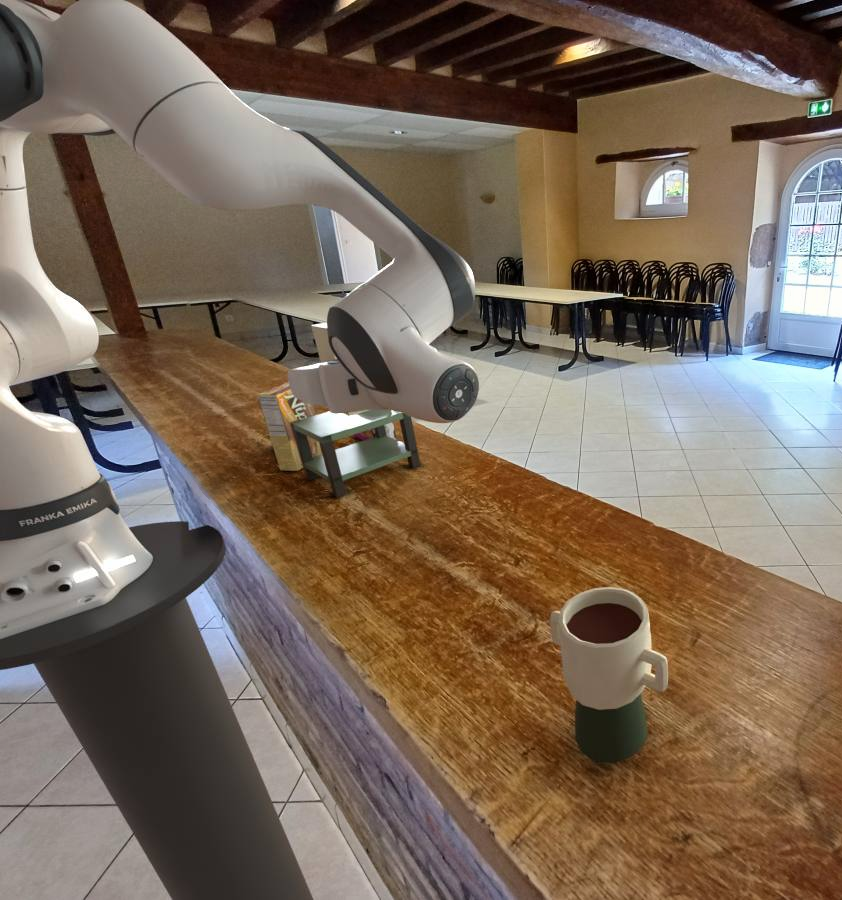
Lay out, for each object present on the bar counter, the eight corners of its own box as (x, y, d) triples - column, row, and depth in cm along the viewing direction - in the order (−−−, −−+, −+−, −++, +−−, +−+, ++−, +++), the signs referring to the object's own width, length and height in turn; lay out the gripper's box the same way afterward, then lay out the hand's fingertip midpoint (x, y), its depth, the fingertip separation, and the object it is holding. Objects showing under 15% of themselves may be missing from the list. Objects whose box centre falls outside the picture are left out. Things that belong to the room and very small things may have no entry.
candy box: (308, 453, 113) (288, 380, 107) (327, 453, 113) (307, 380, 107) (279, 471, 105) (255, 394, 99) (299, 471, 105) (276, 394, 99)
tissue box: (348, 416, 82) (327, 327, 77) (332, 409, 85) (310, 324, 80) (383, 406, 86) (364, 320, 81) (366, 400, 89) (347, 318, 84)
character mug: (687, 733, 47) (688, 611, 42) (646, 802, 42) (642, 672, 37) (583, 683, 53) (574, 570, 48) (536, 738, 48) (519, 617, 43)
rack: (337, 497, 93) (321, 437, 89) (306, 478, 102) (289, 422, 97) (420, 465, 104) (409, 410, 100) (386, 450, 112) (375, 398, 108)
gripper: (452, 338, 80) (402, 330, 89) (309, 369, 67) (267, 356, 75) (458, 380, 83) (410, 368, 92) (321, 418, 69) (280, 400, 78)
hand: (344, 363), depth 83 cm, fingers closed on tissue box, 5 cm apart
